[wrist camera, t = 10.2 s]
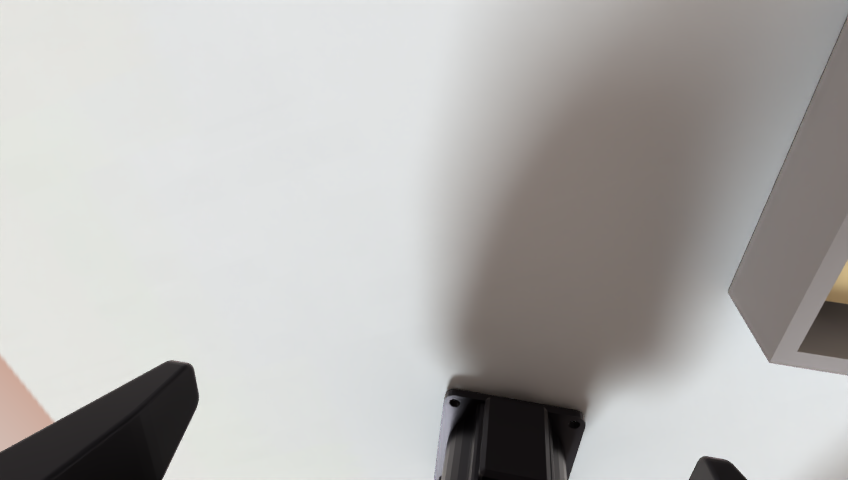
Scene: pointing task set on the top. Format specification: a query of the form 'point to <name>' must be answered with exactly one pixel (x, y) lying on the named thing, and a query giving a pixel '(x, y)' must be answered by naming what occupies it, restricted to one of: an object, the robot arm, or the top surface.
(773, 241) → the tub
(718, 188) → the top surface
